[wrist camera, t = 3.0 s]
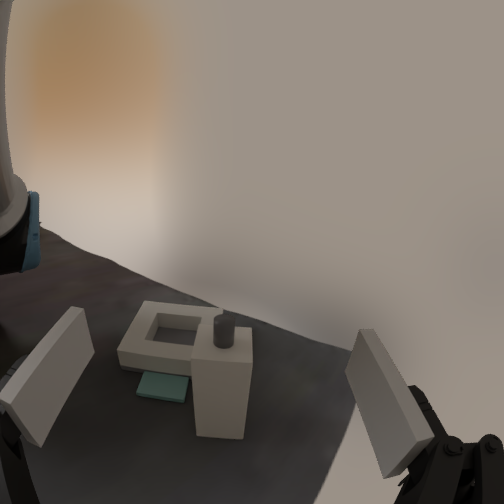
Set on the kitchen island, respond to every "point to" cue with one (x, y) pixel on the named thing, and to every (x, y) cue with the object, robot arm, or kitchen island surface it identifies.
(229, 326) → the plug
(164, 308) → the socket
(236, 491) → the kitchen island surface
